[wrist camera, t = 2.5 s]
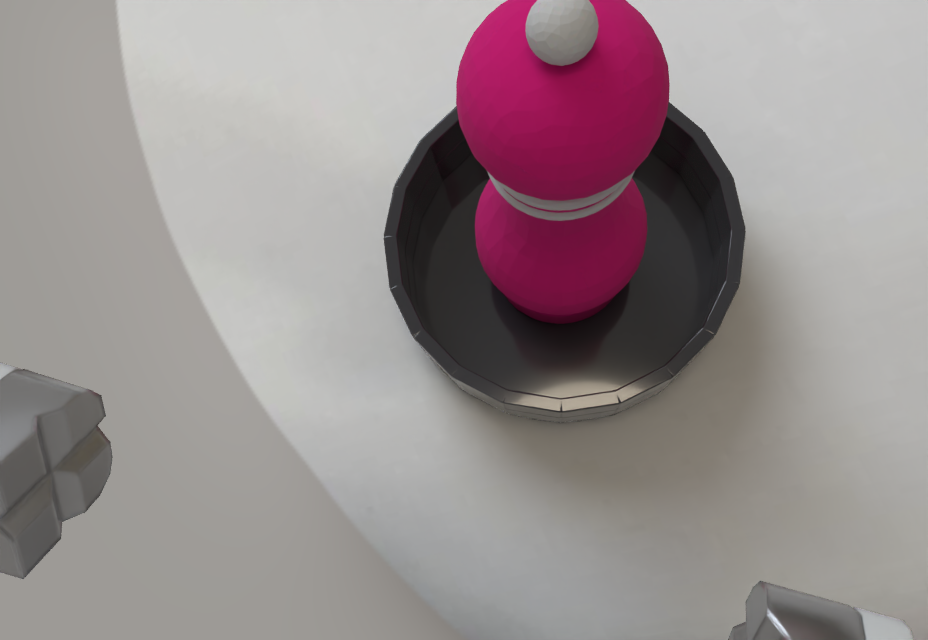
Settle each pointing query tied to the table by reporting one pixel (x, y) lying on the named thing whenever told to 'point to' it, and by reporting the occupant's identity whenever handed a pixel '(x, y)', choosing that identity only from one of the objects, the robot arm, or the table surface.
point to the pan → (583, 342)
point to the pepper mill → (562, 148)
